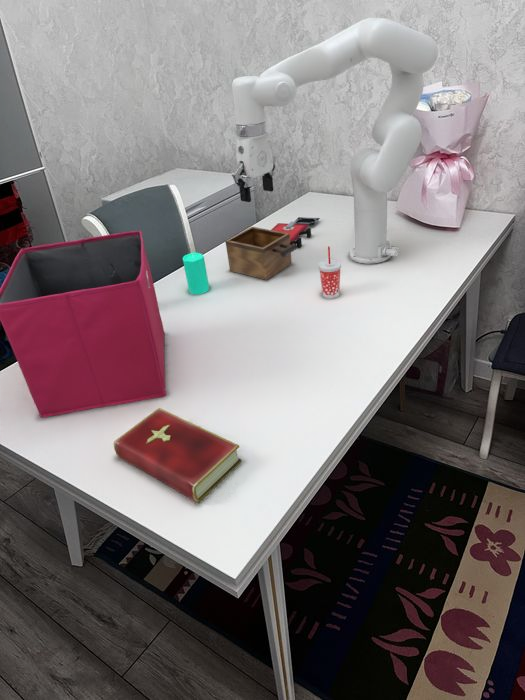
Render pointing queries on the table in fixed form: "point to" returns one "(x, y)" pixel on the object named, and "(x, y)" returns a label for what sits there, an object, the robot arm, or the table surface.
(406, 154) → the robot arm
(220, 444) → the hardcover book
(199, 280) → the candle
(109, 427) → the table surface
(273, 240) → the wooden drawer
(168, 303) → the table surface
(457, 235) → the table surface
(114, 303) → the storage bin
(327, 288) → the beverage cup
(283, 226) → the red board with handle
